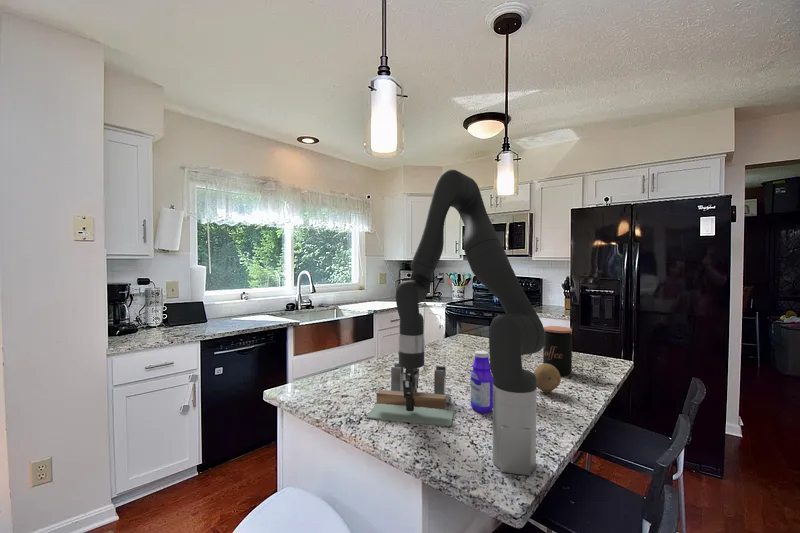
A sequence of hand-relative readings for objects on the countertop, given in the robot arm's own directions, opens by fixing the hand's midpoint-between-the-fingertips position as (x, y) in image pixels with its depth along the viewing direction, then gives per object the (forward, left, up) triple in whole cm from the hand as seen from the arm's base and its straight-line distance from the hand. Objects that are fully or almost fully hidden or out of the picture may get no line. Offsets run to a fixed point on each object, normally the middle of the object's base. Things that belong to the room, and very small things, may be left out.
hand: (411, 407), depth 108 cm
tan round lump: (+28, -42, -2) cm, 51 cm away
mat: (0, 0, -2) cm, 2 cm away
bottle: (+9, -20, -2) cm, 22 cm away
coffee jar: (+54, -50, -2) cm, 74 cm away
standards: (+13, 0, -2) cm, 13 cm away
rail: (0, 0, +1) cm, 1 cm away
